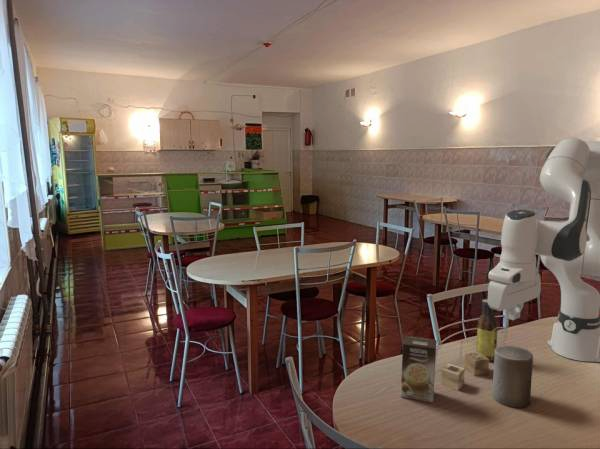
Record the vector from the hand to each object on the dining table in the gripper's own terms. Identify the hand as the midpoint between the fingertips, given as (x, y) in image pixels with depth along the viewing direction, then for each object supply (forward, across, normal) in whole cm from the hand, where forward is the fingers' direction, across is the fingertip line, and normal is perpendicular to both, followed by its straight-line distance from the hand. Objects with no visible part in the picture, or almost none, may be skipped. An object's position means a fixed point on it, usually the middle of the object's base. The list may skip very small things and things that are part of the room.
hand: (513, 318), depth 121 cm
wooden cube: (+23, -4, -13) cm, 27 cm away
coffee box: (+22, +22, -14) cm, 35 cm away
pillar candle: (+23, +2, +2) cm, 23 cm away
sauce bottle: (+23, -15, -17) cm, 33 cm away
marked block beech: (+23, +9, -12) cm, 27 cm away
